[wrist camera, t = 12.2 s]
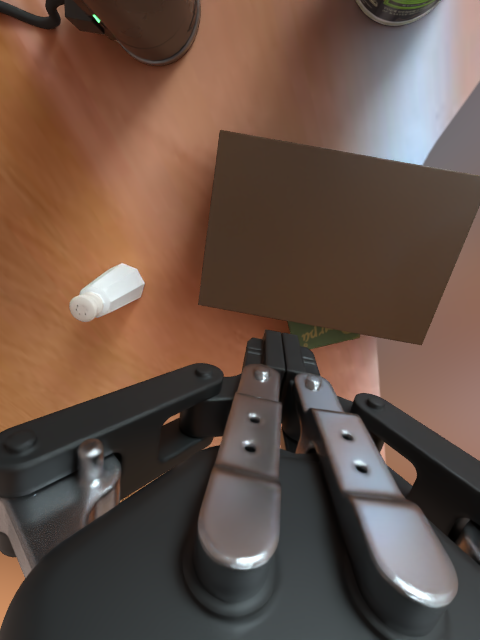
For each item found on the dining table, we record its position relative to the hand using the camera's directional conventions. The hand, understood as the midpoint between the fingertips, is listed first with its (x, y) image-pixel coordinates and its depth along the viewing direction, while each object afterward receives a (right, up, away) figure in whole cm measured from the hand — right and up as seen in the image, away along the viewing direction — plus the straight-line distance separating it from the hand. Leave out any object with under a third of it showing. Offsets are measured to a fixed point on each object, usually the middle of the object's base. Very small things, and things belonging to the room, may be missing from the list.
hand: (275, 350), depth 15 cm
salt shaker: (-17, +6, +28) cm, 33 cm away
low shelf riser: (+8, +11, +24) cm, 28 cm away
